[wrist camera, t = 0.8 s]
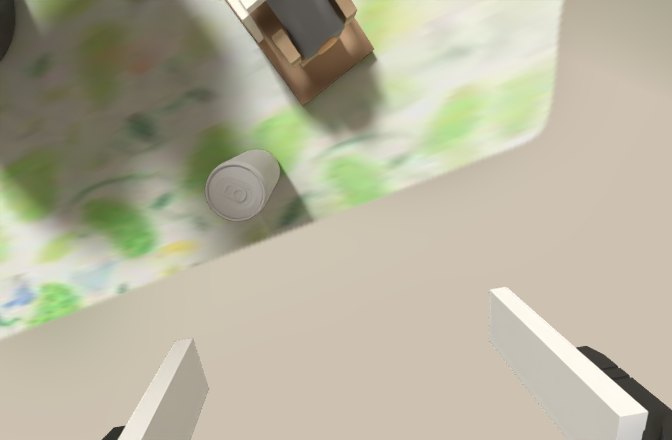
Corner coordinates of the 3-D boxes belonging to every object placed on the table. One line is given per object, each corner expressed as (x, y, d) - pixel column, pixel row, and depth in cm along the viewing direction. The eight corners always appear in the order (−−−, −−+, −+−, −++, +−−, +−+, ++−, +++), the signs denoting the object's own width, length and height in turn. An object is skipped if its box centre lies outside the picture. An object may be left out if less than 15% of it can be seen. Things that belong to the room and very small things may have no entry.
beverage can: (269, 199, 39) (250, 233, 27) (229, 179, 38) (193, 205, 26) (288, 161, 38) (277, 180, 26) (247, 139, 37) (218, 149, 25)
